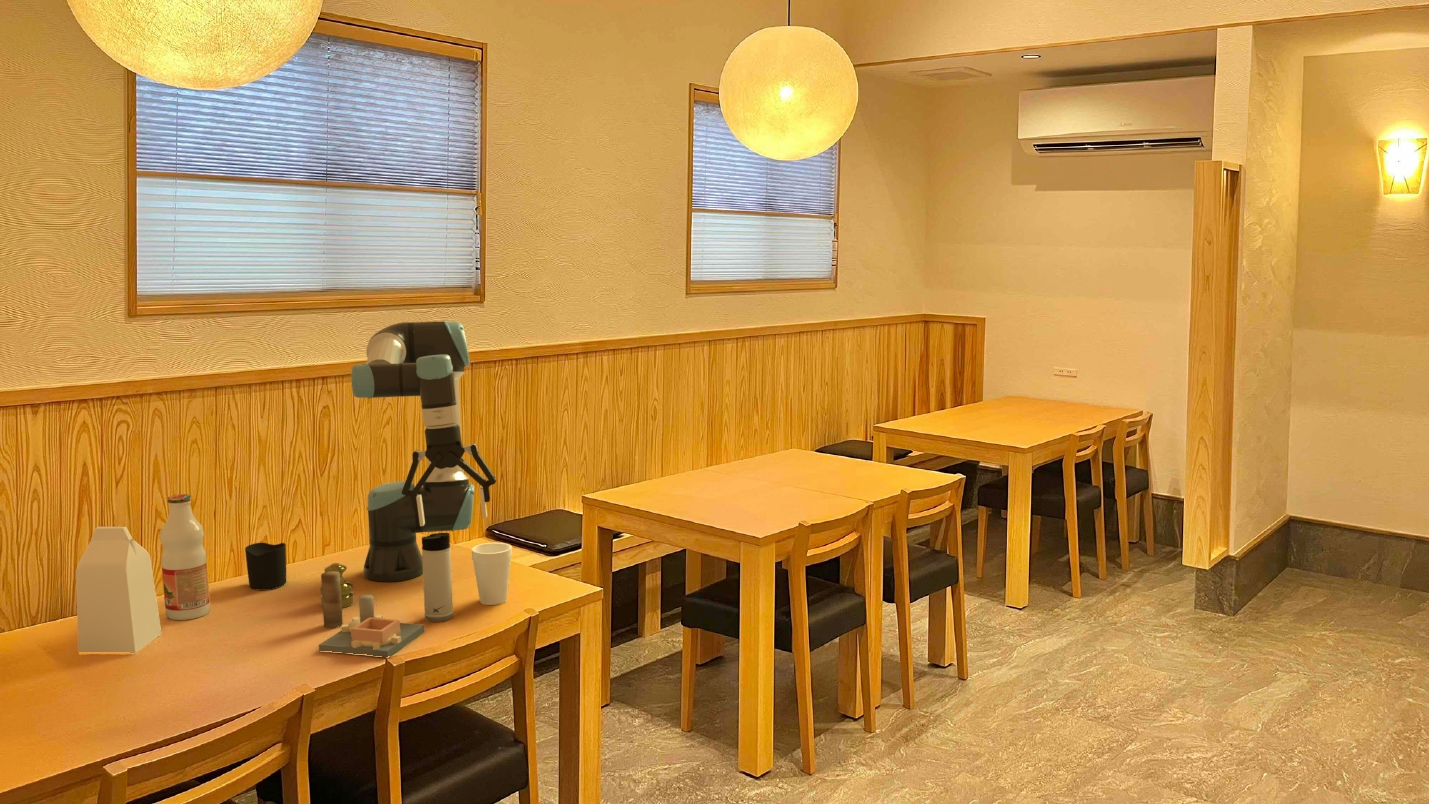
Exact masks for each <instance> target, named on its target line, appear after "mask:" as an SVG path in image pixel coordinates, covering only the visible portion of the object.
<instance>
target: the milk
mask: <svg viewBox="0 0 1429 804" xmlns="http://www.w3.org/2000/svg"><path fill="white" fill-rule="evenodd" d="M154 578H155V577H154V573H153V565H152V558H151V555H150V553H149V552H148V551H147V549H145V548H144V547H143V546H142V545H140V543H138V542H137V541H136V540H134V538H133V537H132V535H131V533H130V531H129V529H128V528H127V526H97V527H95V528H94V531H93V533H92V536H91V539H90V541H89V543H88V545H87V546H86V549H85V550H84V552H83V554H82V556H81V558H80V559H79V562H78V563H77V566H76V570H75V585H76V589H75V591H76V617H77V618H76V619H77V620H76V621H77V623H76V624H77V646H78V647H77V649H78V650H77V653H78V652H130V653H136V652H137V651H139V650H140V649H142V648H143V647H144V646H146V645H147V644H149V643H150V642H151V641H153V640H154V639H156V638H157V637H158V636H160V635H161V634H162V627H161V621H160V613H159V612H160V611H159V606H158V600H157V594H156V592H157V591H156V586H155V585H156V584H155V579H154ZM162 635H163V634H162ZM162 635H161V636H162ZM161 636H160V637H161ZM157 639H158V638H157ZM157 639H156V640H157ZM153 642H154V641H153ZM149 645H150V644H149Z"/></svg>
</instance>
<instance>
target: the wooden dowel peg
mask: <svg viewBox="0 0 1429 804" xmlns="http://www.w3.org/2000/svg"><path fill="white" fill-rule="evenodd" d="M320 574H321V575H320V578H321V579H320V580H321V581H320V584H321V587H322V594H321V596H322V600H323V607H322V612H323V613H322V616H323V627H324V628H325V627H326V628H325V629H328V628H333V629H337V628H336V627H338V626H342V624H343V625H344V623H343V608H342V602H341V584H340V572H336V571H330V572H325V571H324V572H323V573H320ZM338 628H339V627H338Z"/></svg>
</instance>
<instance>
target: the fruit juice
mask: <svg viewBox="0 0 1429 804" xmlns="http://www.w3.org/2000/svg"><path fill="white" fill-rule="evenodd" d="M191 503H192V496H191V494H188V493H187V494H185V493H181V494H180V493H179V494H173V495H170V496H169V495H168V496H167V504H168V506H169V512H168V516H167V519H166V522H165V523H164V525H163V526H161V527H162V528H161V529H160V531H159V532H160V533H159V538H160V542H161V545H162V553H161V556H160V557H161V558H160V559H161V562H160V563H161V572H162V573H161V574H162V585H163V600H164V609H165V616H166V617H167V618H168V619H169V620H173V621H187V620H193V619H197V618H201V617H203V616H205V615H207V614H208V613H210V610H211V603H210V602H211V600H210V590H209V589H210V588H209V577H208V576H209V574H208V563H207V562H208V561H207V560H208V559H207V552H206V548H205V547H204V545H203V542H204V536H205V532H204V526H203V525H202V524H201V523H200V521H198V519H197V518H196V517H195V515H194V513H193V510H192V507H191Z"/></svg>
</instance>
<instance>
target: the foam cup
mask: <svg viewBox="0 0 1429 804" xmlns="http://www.w3.org/2000/svg"><path fill="white" fill-rule="evenodd" d="M512 558H513V546H512V545H511V544H510V543H505V542H486V543H481V544H477V545H475V546H473V547H471V560H472V562H473V568H474V574H475V579H476V585H477V591H478V597H479V602H480V603H481V604H483V605H487V606H489V605H490V606H496V605H501V604H505V603H506V602H507V601H508V592H509V582H510V573H511V562H512Z"/></svg>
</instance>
